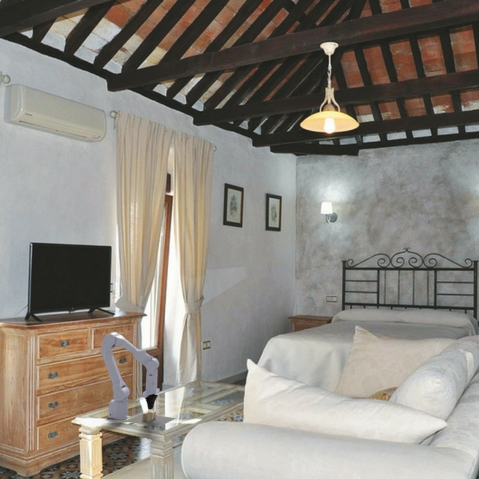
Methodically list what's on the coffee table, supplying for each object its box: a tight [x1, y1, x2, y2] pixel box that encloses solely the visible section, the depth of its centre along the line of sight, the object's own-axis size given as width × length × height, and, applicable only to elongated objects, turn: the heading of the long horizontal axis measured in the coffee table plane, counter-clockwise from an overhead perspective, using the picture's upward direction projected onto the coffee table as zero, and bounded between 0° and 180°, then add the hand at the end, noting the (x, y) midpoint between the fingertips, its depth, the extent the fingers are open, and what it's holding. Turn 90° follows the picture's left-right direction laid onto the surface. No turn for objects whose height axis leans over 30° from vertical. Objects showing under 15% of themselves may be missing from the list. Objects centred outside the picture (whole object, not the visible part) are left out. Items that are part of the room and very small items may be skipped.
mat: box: [124, 412, 177, 428], centre depth 290 cm, size 20×18×1 cm
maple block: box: [142, 409, 157, 422], centre depth 291 cm, size 4×4×7 cm
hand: (150, 409), depth 292 cm, fingers closed
